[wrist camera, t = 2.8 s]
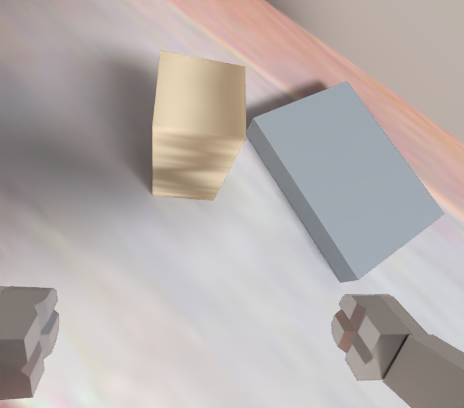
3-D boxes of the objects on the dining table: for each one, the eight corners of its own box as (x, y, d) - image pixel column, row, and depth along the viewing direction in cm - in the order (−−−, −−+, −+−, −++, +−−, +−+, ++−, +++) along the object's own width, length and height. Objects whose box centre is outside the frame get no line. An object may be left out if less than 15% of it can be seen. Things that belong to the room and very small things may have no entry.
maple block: (152, 195, 24) (152, 125, 15) (157, 141, 26) (160, 50, 17) (213, 200, 26) (246, 138, 16) (214, 149, 27) (245, 66, 18)
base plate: (243, 136, 29) (253, 117, 26) (331, 99, 34) (347, 81, 31) (336, 283, 26) (358, 279, 24) (418, 222, 31) (444, 213, 28)
